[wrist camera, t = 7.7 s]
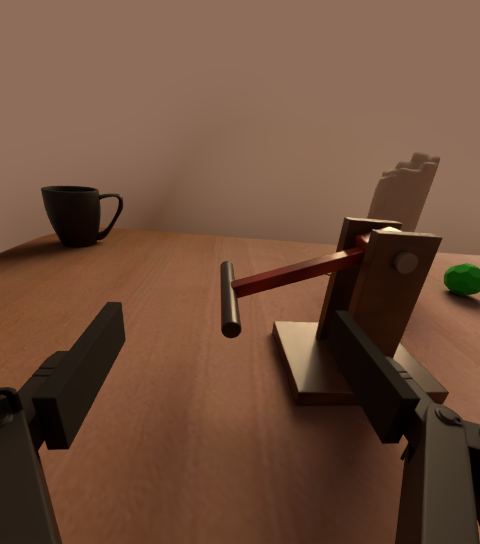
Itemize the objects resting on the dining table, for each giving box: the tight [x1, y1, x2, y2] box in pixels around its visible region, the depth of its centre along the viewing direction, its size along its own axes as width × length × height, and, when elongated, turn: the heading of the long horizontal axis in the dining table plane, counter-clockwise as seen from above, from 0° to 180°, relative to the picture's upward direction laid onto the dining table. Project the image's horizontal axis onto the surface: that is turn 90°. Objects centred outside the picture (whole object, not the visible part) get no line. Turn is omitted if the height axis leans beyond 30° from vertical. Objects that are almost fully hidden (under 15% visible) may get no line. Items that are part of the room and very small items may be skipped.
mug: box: [41, 186, 123, 247], centre depth 46 cm, size 8×12×10 cm
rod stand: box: [272, 217, 449, 405], centre depth 21 cm, size 12×9×13 cm
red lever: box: [220, 227, 403, 338], centre depth 20 cm, size 14×10×2 cm
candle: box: [328, 152, 440, 274], centre depth 42 cm, size 7×14×20 cm, turn 91°
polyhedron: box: [444, 264, 480, 296], centre depth 40 cm, size 5×5×5 cm
